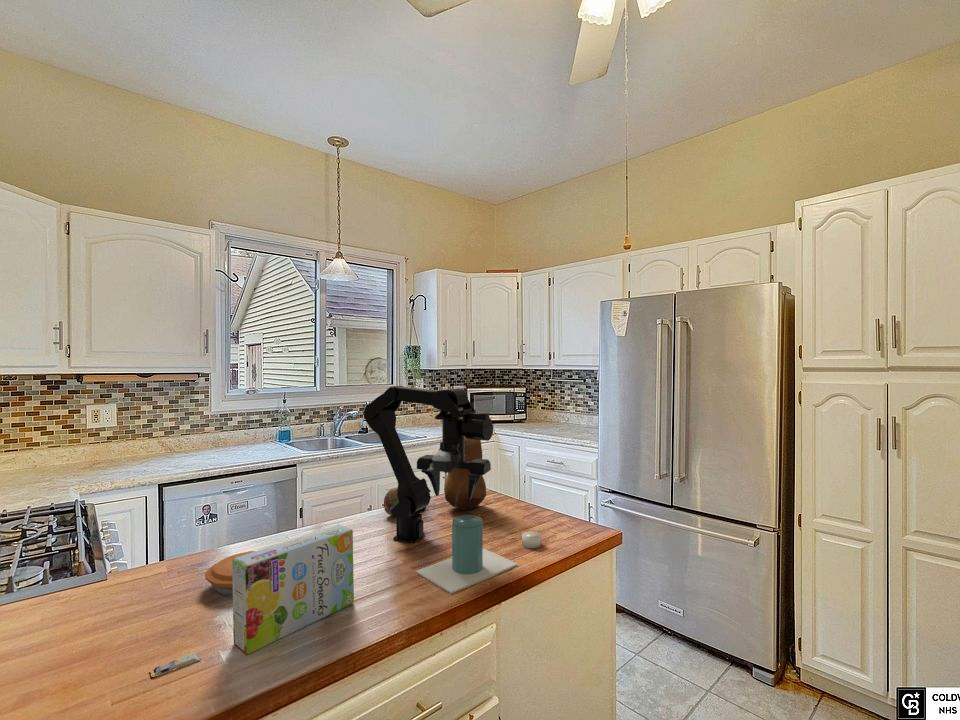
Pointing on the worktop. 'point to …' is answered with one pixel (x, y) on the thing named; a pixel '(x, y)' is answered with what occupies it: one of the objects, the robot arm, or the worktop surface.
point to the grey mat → (456, 581)
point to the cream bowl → (531, 539)
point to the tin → (391, 500)
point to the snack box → (291, 586)
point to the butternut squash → (465, 480)
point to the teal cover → (467, 544)
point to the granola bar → (176, 664)
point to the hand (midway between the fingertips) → (453, 497)
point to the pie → (223, 575)
